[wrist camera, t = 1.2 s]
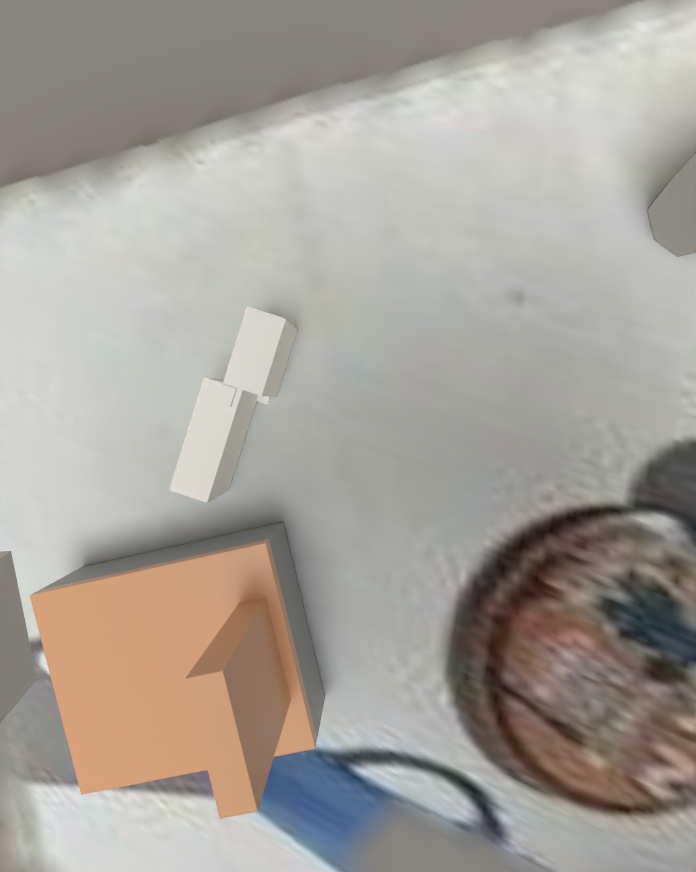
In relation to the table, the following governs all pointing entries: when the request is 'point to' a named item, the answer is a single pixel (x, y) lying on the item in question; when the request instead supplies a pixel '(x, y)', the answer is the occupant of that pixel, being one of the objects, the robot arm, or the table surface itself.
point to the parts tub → (286, 581)
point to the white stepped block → (232, 405)
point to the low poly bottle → (676, 212)
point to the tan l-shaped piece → (178, 673)
